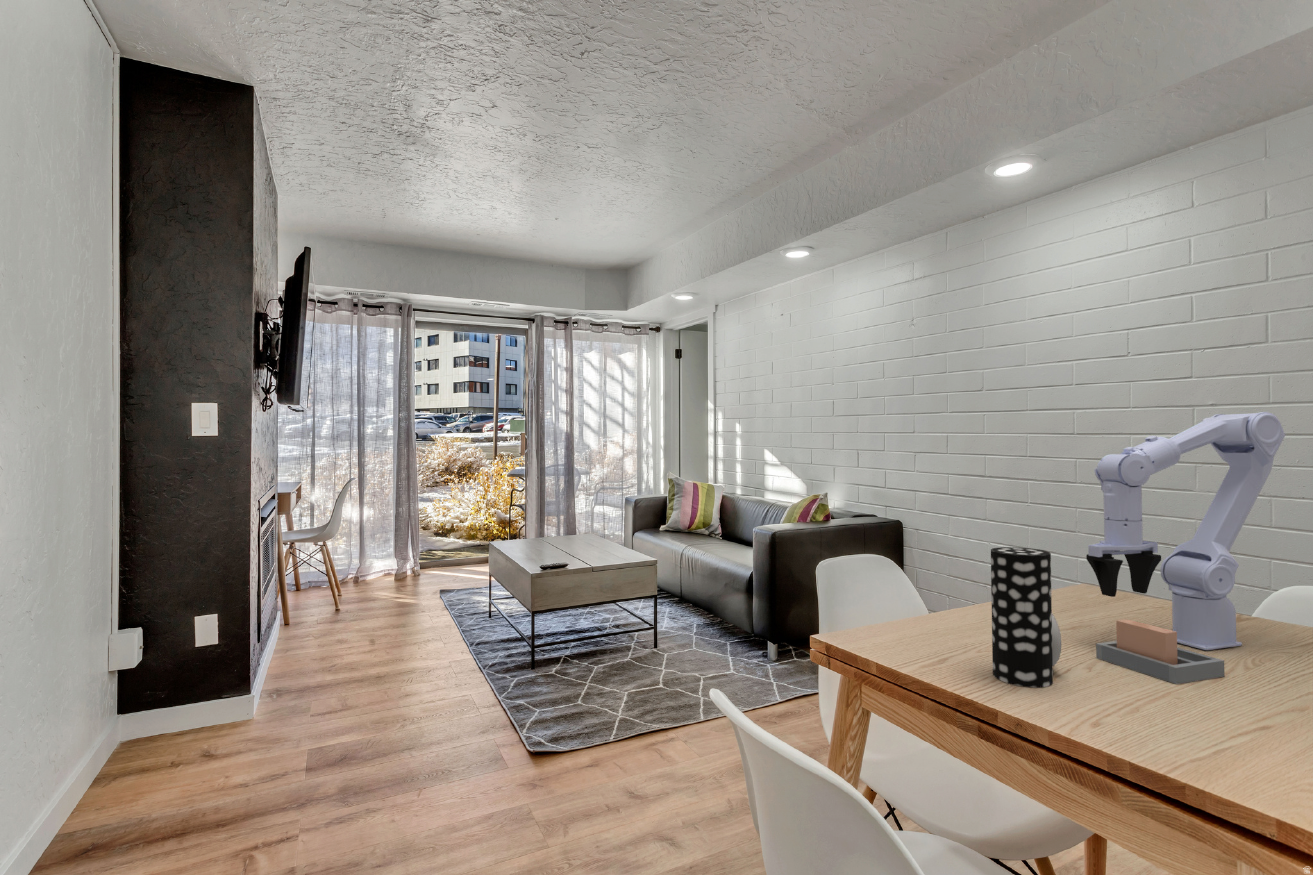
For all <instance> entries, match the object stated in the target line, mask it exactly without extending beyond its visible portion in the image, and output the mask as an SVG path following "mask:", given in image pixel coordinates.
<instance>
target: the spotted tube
mask: <svg viewBox="0 0 1313 875" xmlns="http://www.w3.org/2000/svg"><path fill="white" fill-rule="evenodd" d="M1051 555H1052V554H1051V552H1050V551H1047V550H1045V549H1044V550H1043V549H1036V548H1030V547H1029V548H1028V547H1015V546H1013V547H1011V546H1009V547H1007V546H1006V547H1005V546H1003V547H993V548H991V549H990V582H991V584H990V589H991V592H990V593H991V595H990V596H991V645H992V646H991V650H992V651H991V652H992V654H991V656H992V660H991V661H992V676H993V677H994V678H995V679H997V680H999V681H1002V682H1004V683H1007V684H1010V685H1014V686H1019V687H1025V688H1047V687H1050V686H1052V685H1053V683H1054V672H1053V671H1054V669H1053V667H1054V666H1053V656H1052V614H1053V613H1052V610H1053V609H1052V607H1053V605H1052V602H1053V601H1052V556H1051Z"/></svg>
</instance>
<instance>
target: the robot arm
mask: <svg viewBox="0 0 1313 875" xmlns="http://www.w3.org/2000/svg"><path fill="white" fill-rule="evenodd" d="M1285 437H1286V433H1285V431H1284V429H1283V426H1282V423H1281V421H1280V420H1279V418H1278V417H1277V416H1276V415H1275V413H1272V412H1269V411H1260V412H1254V413H1253V412H1252V413H1251V412H1250V413H1232V414H1231V413H1230V414H1226V413H1224V414H1223V413H1216V414H1213V415H1212V416H1210V417H1206V418H1202V421H1201V422H1199V423H1196V424H1195V425H1193V426H1191V427H1188V428H1187V429H1185V430H1183V431H1180V432H1179V433H1178V434H1175V435H1174V436H1172V437H1169V438H1168V437H1164V436H1156V435H1149V436H1147V437H1145V438H1144V441H1145V442H1141V443H1140V444H1137V445H1135V446H1127V447H1125V448H1124V447H1123V449H1122V450H1123V451H1121V452H1120V453H1116V454H1115V453H1111V454H1107V455H1104V456H1103V457H1102V458H1100V460H1099V461H1098V463H1097V466H1096V468H1094V474H1095V475H1094V476H1096V479H1097V480H1098V481H1099V483H1100V490H1101V491H1102V493H1103V533H1104V536H1103V539H1104V540H1099V542H1097V543H1094V544H1087V545H1088V547H1087V548H1088V553H1087V554H1086V556H1085V557H1086V558H1085V559H1086V561H1087V562H1088V564H1089V565H1090V567H1091V568H1092V570H1093V572H1094V575H1095V577H1096V579H1097V581H1098V586H1099V589H1100V592H1101V595H1103V596H1105V597H1106V596H1107V597H1111V598H1114V597H1116V595H1117V589H1118V578H1119V572H1120V569H1121V567H1122V564H1123V563H1124V560H1122V559H1117V558H1115V556H1120V555H1123V556H1124V557H1125V559H1126V562H1127V565H1128V569H1129V573H1130V574H1129V575H1130V583H1131V584H1130V585H1131V589H1132V592H1135V593H1139V594H1147V593H1148V590H1149V586H1150V584H1151V583H1150V582H1151V579H1152V576H1153V574H1154V573H1155V570H1156V568H1157V566H1158V565H1159V564H1160V562H1161V561H1162V555H1160V554H1157V553H1159V552H1158V551H1159V544H1158V542H1157V541H1150V540H1143V536H1144V535H1143V534H1144V533H1143V501H1142V498H1143V497H1142V494H1143V493H1142V492H1143V491H1142V488H1143V487H1142V486H1144V485H1145V484H1146V483H1147V482H1148V481H1149V479H1150V477H1151V476H1152V475H1154V474H1156V473H1159V472H1161V471H1163V470H1166V469H1168V468H1170V467H1172V466H1175V465H1177V464H1178V463H1179V462H1180V459H1181V455H1183V454H1185V453H1188V452H1191V451H1194V450H1197V449H1199V448H1202V447H1205V446H1207V445H1211V446H1212V448H1213V449H1214V451H1215V452H1216V453H1217V454H1218V456H1219V457H1220V458H1221V460H1222V461H1224V462H1225V463H1227V464H1228V466H1229V469H1228V470H1227V473H1226V474H1225V475H1224V478H1223V480H1222V481H1221V483H1220V486H1219V488H1218V489H1217V491H1216V494H1215V495H1214V497H1213V499H1212V501H1211V503H1210V505H1209V506H1208V509H1207V511H1206V512H1205V515H1204V516H1203V518H1202V520H1201V522H1200V524H1199V525H1198V527H1197V530H1196V531H1195V533H1194V536H1193V537H1192V538H1191V539H1189V540H1187V541H1184V542H1183V543H1180V544H1178V545H1176V546H1175V548H1174V549H1173V551H1172V553H1171V554H1170V555H1168V556H1167V557H1165V558H1164V559H1163V561H1162V563H1161V564H1160V568H1159V569H1160V576H1161V579H1162V580H1163V582H1164V583H1165V584H1166V585H1168V591H1171V609H1172V610H1171V611H1172V612H1171V613H1172V616H1171V617H1172V620H1171V621H1172V631H1175V632H1177V644H1181V645H1185V646H1187V647H1188V646H1189V647H1192V648H1197V649H1199V650H1203V651H1211V650H1217V649H1218V650H1219V649H1224V648H1225V649H1226V648H1232V647H1239V646H1243V642H1241V641H1237V614H1236V612H1237V611H1236V608H1235V606H1234V604H1233V601H1231V599H1230V598H1228V597H1227V596H1228V595H1229V594H1230V593H1231V592H1232V590H1233V588H1234V586H1235V581H1236V573H1237V570H1238V569H1239V566H1240V564H1239V563H1238V562H1237V560H1236V559H1235V558H1234V556H1233V555H1232V554H1231V553H1230V550H1231V549H1232V546H1234V543H1235V541H1236V539H1237V537H1238V536H1239V533H1240V531H1241V530H1242V528H1243V526H1244V523H1245V522H1246V520H1247V518H1248V516H1249V514H1250V513H1251V510H1252V508H1253V506H1254V505H1255V503H1256V501H1257V499H1258V497H1259V495H1260V493H1261V491H1262V489H1263V487H1264V485H1265V483H1266V482H1267V480H1268V478H1269V476H1270V474H1271V472H1272V468H1273V466H1274V460H1275V457H1276V454H1277V452H1278V451H1279V448H1280V447H1281V445H1282V442H1283V441H1284V439H1285Z"/></svg>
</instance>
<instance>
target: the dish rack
mask: <svg viewBox="0 0 1313 875" xmlns="http://www.w3.org/2000/svg"><path fill="white" fill-rule="evenodd" d="M1095 652H1096V653H1095V654H1096V655H1095V658H1096V659H1098V660H1102V661H1105V662H1108V663H1111V664H1113V665H1116V666H1120V667H1122V668H1125V669H1128V670H1131V671H1135V672H1138V673H1140V674H1144V675H1147V676H1150V677H1152V678H1153V677H1154V678H1156V679H1159V680H1162V681H1166V682H1169V683H1171V684H1173V685H1180V684H1185V683H1186V684H1187V683H1191V682H1197V681H1205V680H1210V679H1216V678H1217V679H1218V678H1223V677H1225V660H1223V659H1220V658H1217V657H1212V656H1209V655H1205V654H1202V653H1198V652H1195V651H1192V650H1189V649H1184V648H1180V647H1177V661H1178V664H1177V665H1172V664H1169V663H1165V662H1162V661H1159V660H1155V659H1152V658H1149V657H1145V656H1142V655H1139V654H1136V653H1132V652H1129V651H1126V650H1122V649H1119V648H1117V640H1113V641H1106V642H1098V643H1095Z"/></svg>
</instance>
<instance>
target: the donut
mask: <svg viewBox="0 0 1313 875" xmlns="http://www.w3.org/2000/svg"><path fill="white" fill-rule="evenodd" d="M1061 653H1062V636H1061V629H1060V627H1059V624H1058V621H1057V618H1056V617H1055V615H1054V613H1052V656H1053V667H1054V666H1055V665H1056V664H1057V663H1058V661H1059V660H1060V656H1061Z"/></svg>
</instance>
